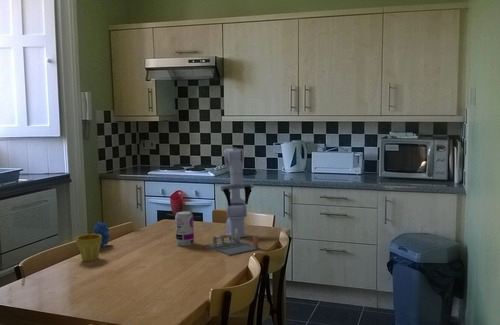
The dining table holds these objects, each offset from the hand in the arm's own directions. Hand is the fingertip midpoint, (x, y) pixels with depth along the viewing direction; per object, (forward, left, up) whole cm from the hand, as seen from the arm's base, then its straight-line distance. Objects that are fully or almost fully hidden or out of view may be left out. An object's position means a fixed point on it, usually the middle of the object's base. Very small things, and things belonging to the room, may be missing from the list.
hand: (238, 204), depth 229 cm
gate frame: (-5, -1, -20) cm, 21 cm away
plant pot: (-29, -58, -20) cm, 68 cm away
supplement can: (-24, -15, -20) cm, 35 cm away
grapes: (-45, -47, -20) cm, 68 cm away
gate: (-8, -3, -19) cm, 21 cm away
